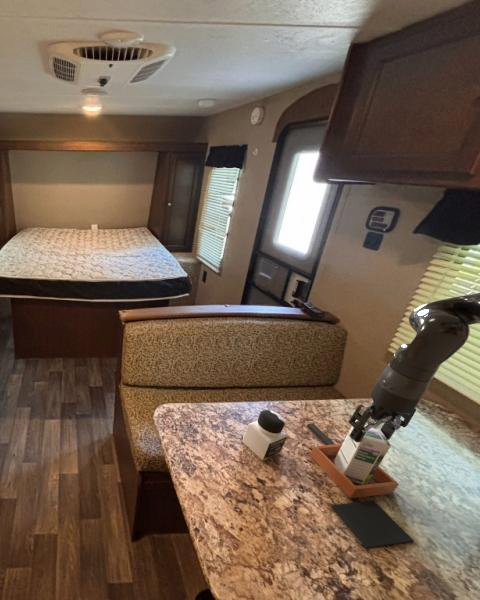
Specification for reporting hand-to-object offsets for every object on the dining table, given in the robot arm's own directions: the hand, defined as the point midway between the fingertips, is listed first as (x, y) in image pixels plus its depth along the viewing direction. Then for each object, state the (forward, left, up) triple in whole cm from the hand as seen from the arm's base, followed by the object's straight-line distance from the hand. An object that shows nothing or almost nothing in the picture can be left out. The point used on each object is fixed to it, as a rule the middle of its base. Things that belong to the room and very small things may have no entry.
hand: (368, 438), depth 79 cm
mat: (+7, +12, -13) cm, 19 cm away
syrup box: (0, 0, -13) cm, 13 cm away
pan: (0, -4, -13) cm, 13 cm away
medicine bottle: (+19, -10, -13) cm, 25 cm away
